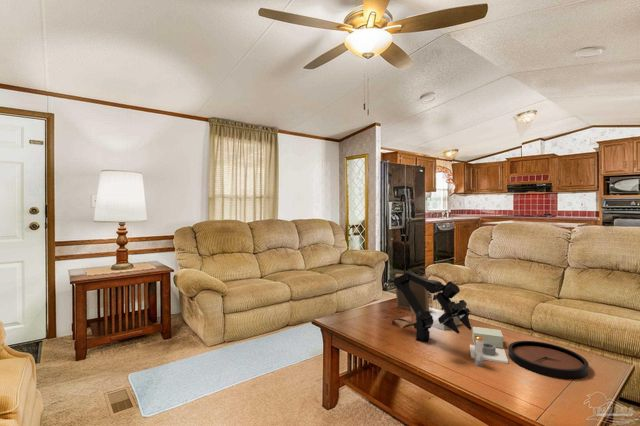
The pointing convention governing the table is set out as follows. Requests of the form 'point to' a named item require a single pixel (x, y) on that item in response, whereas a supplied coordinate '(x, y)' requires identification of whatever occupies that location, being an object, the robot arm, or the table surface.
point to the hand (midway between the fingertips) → (464, 331)
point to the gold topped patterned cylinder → (478, 350)
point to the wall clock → (548, 359)
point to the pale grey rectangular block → (443, 327)
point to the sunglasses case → (404, 321)
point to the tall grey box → (418, 292)
